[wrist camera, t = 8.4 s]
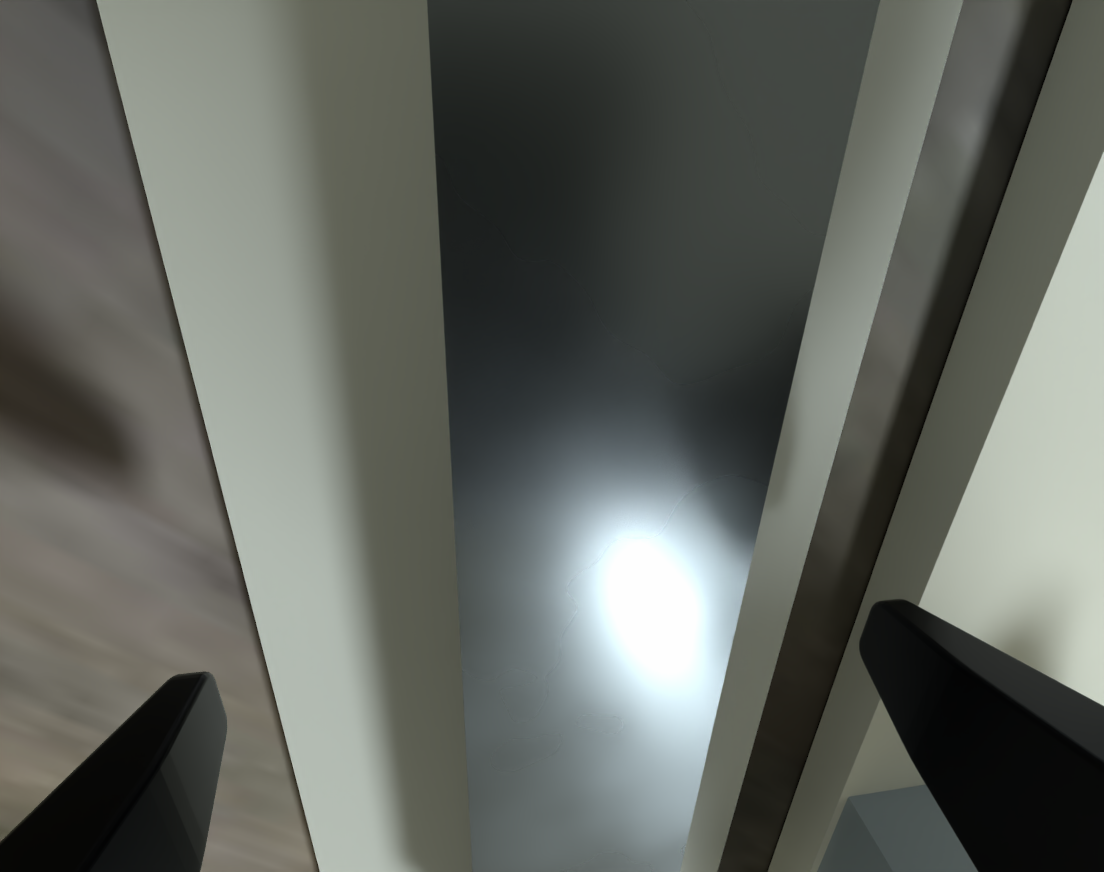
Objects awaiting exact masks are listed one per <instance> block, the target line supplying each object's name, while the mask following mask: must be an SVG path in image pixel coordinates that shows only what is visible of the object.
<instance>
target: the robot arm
mask: <svg viewBox="0 0 1104 872" xmlns="http://www.w3.org/2000/svg"><path fill="white" fill-rule="evenodd" d="M859 651H860V655H861V658H862V661H863V663H864V665H865V667H866V669H867V671H868V673H869V675H870V677H871V679H872V681H873V683H874V685H875V687H876V689H877V692H878V694H879V696H880V698H881V700H882V702H883V704H884V706H885V708H886V710H887V712H888V714H889V716H890V718H891V720H892V722H893V725H894V727H895V729H896V731H897V733H898V735H899V737H900V739H901V741H902V743H903V745H904V747H905V749H906V751H907V753H908V755H909V757H910V758H911V760H912V762H913V764H914V766H915V767H916V769H917V771H918V773H919V774H920V776H921V778H922V779H923V781H924V783H925V784H926V786H927V788H928V789H929V791H930V793H931V794H932V796H933V798H934V799H935V801H936V803H937V804H938V806H939V808H940V809H941V811H942V813H943V814H944V816H945V818H946V819H947V821H948V823H949V824H950V826H951V828H952V829H953V831H954V833H955V834H956V836H957V838H958V839H959V841H960V843H961V844H962V846H963V848H964V849H965V851H966V853H967V854H968V856H969V858H970V859H971V861H972V863H973V864H974V866H975V868H976V869H977V871H978V872H1104V706H1103V705H1101V704H1099V703H1097V702H1096V701H1094V700H1092V699H1090V698H1088V697H1086V696H1084V695H1083V694H1081V693H1079V692H1077V691H1075V690H1073V689H1071V688H1069V687H1068V686H1066V685H1064V684H1062V683H1060V682H1058V681H1056V680H1055V679H1053V678H1051V677H1049V676H1047V675H1045V674H1043V673H1042V672H1040V671H1038V670H1036V669H1034V668H1032V667H1030V666H1029V665H1027V664H1025V663H1023V662H1021V661H1019V660H1017V659H1015V658H1014V657H1012V656H1010V655H1008V654H1006V653H1004V652H1002V651H1001V650H999V649H997V648H995V647H993V646H991V645H989V644H988V643H986V642H984V641H982V640H980V639H978V638H976V637H975V636H973V635H971V634H969V633H967V632H965V631H963V630H961V629H960V628H958V627H956V626H954V625H952V624H950V623H948V622H947V621H945V620H943V619H941V618H939V617H937V616H935V615H934V614H932V613H930V612H928V611H926V610H924V609H922V608H920V607H919V606H917V605H915V604H913V603H911V602H909V601H907V600H904V599H892V600H883V601H878V602H876V603H875V604H874V605H873V606H872V607H871V609H870V612H869V615H868V618H867V621H866V623H865V626H864V629H863V632H862V634H861V637H860V641H859ZM226 734H227V717H226V713H225V710H224V707H223V703H222V700H221V697H220V694H219V691H218V688H217V684H216V681H215V679H214V677H213V675H212V674H211V673H209V672H196V673H186V674H178V675H175V676H173V677H172V678H170V679H169V680H167V681H166V682H165V683H164V684H163V685H162V686H161V687H160V688H159V689H158V690H157V691H156V692H155V693H154V694H153V695H152V696H151V697H150V698H149V699H148V700H147V701H146V702H145V703H144V704H143V705H141V706H140V707H139V708H138V709H137V710H136V711H135V712H134V713H133V714H132V715H131V716H130V717H129V718H128V719H127V720H126V721H125V722H124V723H123V724H122V725H121V726H120V727H119V728H118V729H117V730H116V731H115V732H114V733H112V734H111V735H110V736H109V737H108V738H107V739H106V740H105V741H104V742H103V743H102V744H101V745H100V746H99V747H98V748H97V749H96V750H95V751H94V752H93V753H92V754H91V755H90V756H89V757H88V758H87V759H86V760H85V761H84V762H82V763H81V764H80V765H79V766H78V767H77V768H76V769H75V770H74V771H73V772H72V773H71V774H70V775H69V776H68V777H67V778H66V779H65V780H64V781H63V782H62V783H61V784H60V785H59V786H58V787H57V788H56V789H55V790H54V791H52V792H51V793H50V794H49V795H48V796H47V797H46V798H45V799H44V800H43V801H42V802H41V803H40V804H39V805H38V806H37V807H36V808H35V809H34V810H33V811H32V812H31V813H30V814H29V815H28V816H27V817H26V818H25V819H24V820H22V821H21V822H20V823H19V824H18V825H17V826H16V827H15V828H14V829H13V830H12V831H11V832H10V833H9V834H8V835H7V836H6V837H5V838H4V839H3V840H2V841H1V842H0V872H200V870H201V866H202V861H203V856H204V851H205V847H206V842H207V836H208V831H209V825H210V820H211V815H212V809H213V804H214V799H215V793H216V788H217V783H218V777H219V772H220V767H221V761H222V756H223V750H224V745H225V740H226Z"/></svg>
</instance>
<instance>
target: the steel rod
mask: <svg viewBox="0 0 1104 872" xmlns="http://www.w3.org/2000/svg"><path fill="white" fill-rule="evenodd" d="M879 3H880V0H427V14H428V33H429V52H430V71H431V91H432V110H433V129H434V148H435V167H436V186H437V206H438V225H439V244H440V263H441V282H442V301H443V321H444V340H445V359H446V378H447V397H448V416H449V436H450V455H451V474H452V493H453V512H454V531H455V551H456V570H457V589H458V608H459V627H460V646H461V666H462V685H463V704H464V723H465V742H466V761H467V781H468V800H469V819H470V838H471V857H472V872H680V870H681V865H682V861H683V857H684V852H685V848H686V844H687V839H688V835H689V830H690V826H691V822H692V817H693V813H694V809H695V804H696V800H697V796H698V791H699V787H700V783H701V778H702V774H703V770H704V765H705V761H706V756H707V752H708V748H709V743H710V739H711V735H712V730H713V726H714V722H715V717H716V713H717V709H718V704H719V700H720V695H721V691H722V687H723V682H724V678H725V674H726V669H727V665H728V661H729V656H730V652H731V648H732V643H733V639H734V635H735V630H736V626H737V621H738V617H739V613H740V608H741V604H742V600H743V595H744V591H745V587H746V582H747V578H748V574H749V569H750V565H751V560H752V556H753V552H754V547H755V543H756V539H757V534H758V530H759V526H760V521H761V517H762V513H763V508H764V504H765V499H766V495H767V491H768V486H769V482H770V478H771V473H772V469H773V465H774V460H775V456H776V452H777V447H778V443H779V439H780V434H781V430H782V425H783V421H784V417H785V412H786V408H787V404H788V399H789V395H790V391H791V386H792V382H793V378H794V373H795V369H796V364H797V360H798V356H799V351H800V347H801V343H802V338H803V334H804V330H805V325H806V321H807V317H808V312H809V308H810V304H811V299H812V295H813V290H814V286H815V282H816V277H817V273H818V269H819V264H820V260H821V256H822V251H823V247H824V243H825V238H826V234H827V229H828V225H829V221H830V216H831V212H832V208H833V203H834V199H835V195H836V190H837V186H838V182H839V177H840V173H841V168H842V164H843V160H844V155H845V151H846V147H847V142H848V138H849V134H850V129H851V125H852V121H853V116H854V112H855V108H856V103H857V99H858V94H859V90H860V86H861V81H862V77H863V73H864V68H865V64H866V60H867V55H868V51H869V47H870V42H871V38H872V33H873V29H874V25H875V20H876V16H877V12H878V7H879Z"/></svg>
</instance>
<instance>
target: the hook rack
mask: <svg viewBox="0 0 1104 872" xmlns="http://www.w3.org/2000/svg"><path fill="white" fill-rule="evenodd" d="M892 599H904V600H907V601H909V602H911V603H913V604H915V605H917V606H919V607H920V608H922V609H924V610H926V611H928V612H930V613H932V614H934V615H935V616H937V617H939V618H941V619H943V620H945V621H947V622H948V623H950V624H952V625H954V626H956V627H958V628H960V629H961V630H963V631H965V632H967V633H969V634H971V635H973V636H975V637H976V638H978V639H980V640H982V641H984V642H986V643H988V644H989V645H991V646H993V647H995V648H997V649H999V650H1001V651H1002V652H1004V653H1006V654H1008V655H1010V656H1012V657H1014V658H1015V659H1017V660H1019V661H1021V662H1023V663H1025V664H1027V665H1029V666H1030V667H1032V668H1034V669H1036V670H1038V671H1040V672H1042V673H1043V674H1045V675H1047V676H1049V677H1051V678H1053V679H1055V680H1056V681H1058V682H1060V683H1062V684H1064V685H1066V686H1068V687H1069V688H1071V689H1073V690H1075V691H1077V692H1079V693H1081V694H1083V695H1084V696H1086V697H1088V698H1090V699H1092V700H1094V701H1096V702H1097V703H1099V704H1101V705H1103V706H1104V0H1073V1H1072V4H1071V7H1070V10H1069V13H1068V16H1067V18H1066V21H1065V24H1064V27H1063V30H1062V33H1061V35H1060V38H1059V41H1058V44H1057V47H1056V50H1055V53H1054V55H1053V58H1052V61H1051V64H1050V67H1049V70H1048V73H1047V75H1046V78H1045V81H1044V84H1043V87H1042V90H1041V93H1040V95H1039V98H1038V101H1037V104H1036V107H1035V110H1034V113H1033V115H1032V118H1031V121H1030V124H1029V127H1028V130H1027V133H1026V135H1025V138H1024V141H1023V144H1022V147H1021V150H1020V153H1019V155H1018V158H1017V161H1016V164H1015V167H1014V170H1013V173H1012V175H1011V178H1010V181H1009V184H1008V187H1007V190H1006V193H1005V195H1004V198H1003V201H1002V204H1001V207H1000V210H999V213H998V215H997V218H996V221H995V224H994V227H993V230H992V232H991V235H990V238H989V241H988V244H987V247H986V250H985V252H984V255H983V258H982V261H981V264H980V267H979V270H978V272H977V275H976V278H975V281H974V284H973V287H972V290H971V292H970V295H969V298H968V301H967V304H966V307H965V310H964V312H963V315H962V318H961V321H960V324H959V327H958V330H957V332H956V335H955V338H954V341H953V344H952V347H951V350H950V352H949V355H948V358H947V361H946V364H945V367H944V370H943V372H942V375H941V378H940V381H939V384H938V387H937V390H936V392H935V395H934V398H933V401H932V404H931V407H930V410H929V412H928V415H927V418H926V421H925V424H924V427H923V429H922V432H921V435H920V438H919V441H918V444H917V447H916V449H915V452H914V455H913V458H912V461H911V464H910V467H909V469H908V472H907V475H906V478H905V481H904V484H903V487H902V489H901V492H900V495H899V498H898V501H897V504H896V507H895V509H894V512H893V515H892V518H891V521H890V524H889V527H888V529H887V532H886V535H885V538H884V541H883V544H882V547H881V549H880V552H879V555H878V558H877V561H876V564H875V567H874V569H873V572H872V575H871V578H870V581H869V584H868V587H867V589H866V592H865V595H864V598H863V601H862V604H861V607H860V609H859V612H858V615H857V618H856V621H855V624H854V626H853V629H852V632H851V635H850V638H849V641H848V644H847V646H846V649H845V652H844V655H843V658H842V661H841V664H840V666H839V669H838V672H837V675H836V678H835V681H834V684H833V686H832V689H831V692H830V695H829V698H828V701H827V704H826V706H825V709H824V712H823V715H822V718H821V721H820V724H819V726H818V729H817V732H816V735H815V738H814V741H813V744H812V746H811V749H810V752H809V755H808V758H807V761H806V764H805V766H804V769H803V772H802V775H801V778H800V781H799V784H798V786H797V789H796V792H795V795H794V798H793V801H792V804H791V806H790V809H789V812H788V815H787V818H786V821H785V824H784V826H783V829H782V832H781V835H780V838H779V841H778V843H777V846H776V849H775V852H774V855H773V858H772V861H771V863H770V866H769V869H768V872H978V871H977V869H976V868H975V866H974V864H973V863H972V861H971V859H970V858H969V856H968V854H967V853H966V851H965V849H964V848H963V846H962V844H961V843H960V841H959V839H958V838H957V836H956V834H955V833H954V831H953V829H952V828H951V826H950V824H949V823H948V821H947V819H946V818H945V816H944V814H943V813H942V811H941V809H940V808H939V806H938V804H937V803H936V801H935V799H934V798H933V796H932V794H931V793H930V791H929V789H928V788H927V786H926V784H925V783H924V781H923V779H922V778H921V776H920V774H919V773H918V771H917V769H916V767H915V766H914V764H913V762H912V760H911V758H910V757H909V755H908V753H907V751H906V749H905V747H904V745H903V743H902V741H901V739H900V737H899V735H898V733H897V731H896V729H895V727H894V725H893V722H892V720H891V718H890V716H889V714H888V712H887V710H886V708H885V706H884V704H883V702H882V700H881V698H880V696H879V694H878V692H877V689H876V687H875V685H874V683H873V681H872V679H871V677H870V675H869V673H868V671H867V669H866V667H865V665H864V663H863V661H862V658H861V655H860V651H859V641H860V637H861V634H862V632H863V629H864V626H865V623H866V621H867V618H868V615H869V612H870V609H871V607H872V606H873V605H874V604H875V603H876V602H878V601H883V600H892Z"/></svg>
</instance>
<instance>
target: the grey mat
mask: <svg viewBox="0 0 1104 872" xmlns="http://www.w3.org/2000/svg"><path fill="white" fill-rule="evenodd" d="M96 1H97V5H98V9H99V13H100V17H101V20H102V24H103V28H104V32H105V36H106V40H107V44H108V48H109V52H110V56H111V59H112V63H113V67H114V71H115V75H116V79H117V83H118V87H119V91H120V95H121V98H122V102H123V106H124V110H125V114H126V118H127V122H128V126H129V130H130V134H131V137H132V141H133V145H134V149H135V153H136V157H137V161H138V165H139V169H140V173H141V176H142V180H143V184H144V188H145V192H146V196H147V200H148V204H149V208H150V212H151V215H152V219H153V223H154V227H155V231H156V235H157V239H158V243H159V247H160V250H161V254H162V258H163V262H164V266H165V270H166V274H167V278H168V282H169V286H170V289H171V293H172V297H173V301H174V305H175V309H176V313H177V317H178V321H179V325H180V328H181V332H182V336H183V340H184V344H185V348H186V352H187V356H188V360H189V364H190V367H191V371H192V375H193V379H194V383H195V387H196V391H197V395H198V399H199V403H200V406H201V410H202V414H203V418H204V422H205V426H206V430H207V434H208V438H209V441H210V445H211V449H212V453H213V457H214V461H215V465H216V469H217V473H218V477H219V480H220V484H221V488H222V492H223V496H224V500H225V504H226V508H227V512H228V516H229V519H230V523H231V527H232V531H233V535H234V539H235V543H236V547H237V551H238V555H239V558H240V562H241V566H242V570H243V574H244V578H245V582H246V586H247V590H248V594H249V597H250V601H251V605H252V609H253V613H254V617H255V621H256V625H257V629H258V633H259V636H260V640H261V644H262V648H263V652H264V656H265V660H266V664H267V668H268V671H269V675H270V679H271V683H272V687H273V691H274V695H275V699H276V703H277V707H278V710H279V714H280V718H281V722H282V726H283V730H284V734H285V738H286V742H287V746H288V749H289V753H290V757H291V761H292V765H293V769H294V773H295V777H296V781H297V785H298V788H299V792H300V796H301V800H302V804H303V808H304V812H305V816H306V820H307V824H308V827H309V831H310V835H311V839H312V843H313V847H314V851H315V855H316V859H317V862H318V866H319V870H320V872H472V857H471V838H470V819H469V800H468V781H467V761H466V742H465V723H464V704H463V685H462V666H461V646H460V627H459V608H458V589H457V570H456V551H455V531H454V512H453V493H452V474H451V455H450V436H449V416H448V397H447V378H446V359H445V340H444V321H443V301H442V282H441V263H440V244H439V225H438V206H437V186H436V167H435V148H434V129H433V110H432V91H431V71H430V52H429V33H428V14H427V0H96ZM962 3H963V0H880V3H879V7H878V12H877V16H876V20H875V25H874V29H873V33H872V38H871V42H870V47H869V51H868V55H867V60H866V64H865V68H864V73H863V77H862V81H861V86H860V90H859V94H858V99H857V103H856V108H855V112H854V116H853V121H852V125H851V129H850V134H849V138H848V142H847V147H846V151H845V155H844V160H843V164H842V168H841V173H840V177H839V182H838V186H837V190H836V195H835V199H834V203H833V208H832V212H831V216H830V221H829V225H828V229H827V234H826V238H825V243H824V247H823V251H822V256H821V260H820V264H819V269H818V273H817V277H816V282H815V286H814V290H813V295H812V299H811V304H810V308H809V312H808V317H807V321H806V325H805V330H804V334H803V338H802V343H801V347H800V351H799V356H798V360H797V364H796V369H795V373H794V378H793V382H792V386H791V391H790V395H789V399H788V404H787V408H786V412H785V417H784V421H783V425H782V430H781V434H780V439H779V443H778V447H777V452H776V456H775V460H774V465H773V469H772V473H771V478H770V482H769V486H768V491H767V495H766V499H765V504H764V508H763V513H762V517H761V521H760V526H759V530H758V534H757V539H756V543H755V547H754V552H753V556H752V560H751V565H750V569H749V574H748V578H747V582H746V587H745V591H744V595H743V600H742V604H741V608H740V613H739V617H738V621H737V626H736V630H735V635H734V639H733V643H732V648H731V652H730V656H729V661H728V665H727V669H726V674H725V678H724V682H723V687H722V691H721V695H720V700H719V704H718V709H717V713H716V717H715V722H714V726H713V730H712V735H711V739H710V743H709V748H708V752H707V756H706V761H705V765H704V770H703V774H702V778H701V783H700V787H699V791H698V796H697V800H696V804H695V809H694V813H693V817H692V822H691V826H690V830H689V835H688V839H687V844H686V848H685V852H684V857H683V861H682V865H681V870H680V872H717V871H718V868H719V864H720V861H721V857H722V854H723V850H724V847H725V843H726V840H727V836H728V832H729V829H730V825H731V822H732V818H733V815H734V811H735V808H736V804H737V801H738V797H739V794H740V790H741V786H742V783H743V779H744V776H745V772H746V769H747V765H748V762H749V758H750V755H751V751H752V747H753V744H754V740H755V737H756V733H757V730H758V726H759V723H760V719H761V716H762V712H763V708H764V705H765V701H766V698H767V694H768V691H769V687H770V684H771V680H772V677H773V673H774V670H775V666H776V662H777V659H778V655H779V652H780V648H781V645H782V641H783V638H784V634H785V631H786V627H787V623H788V620H789V616H790V613H791V609H792V606H793V602H794V599H795V595H796V592H797V588H798V584H799V581H800V577H801V574H802V570H803V567H804V563H805V560H806V556H807V553H808V549H809V546H810V542H811V538H812V535H813V531H814V528H815V524H816V521H817V517H818V514H819V510H820V507H821V503H822V499H823V496H824V492H825V489H826V485H827V482H828V478H829V475H830V471H831V468H832V464H833V460H834V457H835V453H836V450H837V446H838V443H839V439H840V436H841V432H842V429H843V425H844V422H845V418H846V414H847V411H848V407H849V404H850V400H851V397H852V393H853V390H854V386H855V383H856V379H857V375H858V372H859V368H860V365H861V361H862V358H863V354H864V351H865V347H866V344H867V340H868V336H869V333H870V329H871V326H872V322H873V319H874V315H875V312H876V308H877V305H878V301H879V297H880V294H881V290H882V287H883V283H884V280H885V276H886V273H887V269H888V266H889V262H890V259H891V255H892V251H893V248H894V244H895V241H896V237H897V234H898V230H899V227H900V223H901V220H902V216H903V212H904V209H905V205H906V202H907V198H908V195H909V191H910V188H911V184H912V181H913V177H914V173H915V170H916V166H917V163H918V159H919V156H920V152H921V149H922V145H923V142H924V138H925V135H926V131H927V127H928V124H929V120H930V117H931V113H932V110H933V106H934V103H935V99H936V96H937V92H938V88H939V85H940V81H941V78H942V74H943V71H944V67H945V64H946V60H947V57H948V53H949V49H950V46H951V42H952V39H953V35H954V32H955V28H956V25H957V21H958V18H959V14H960V11H961V7H962Z"/></svg>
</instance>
